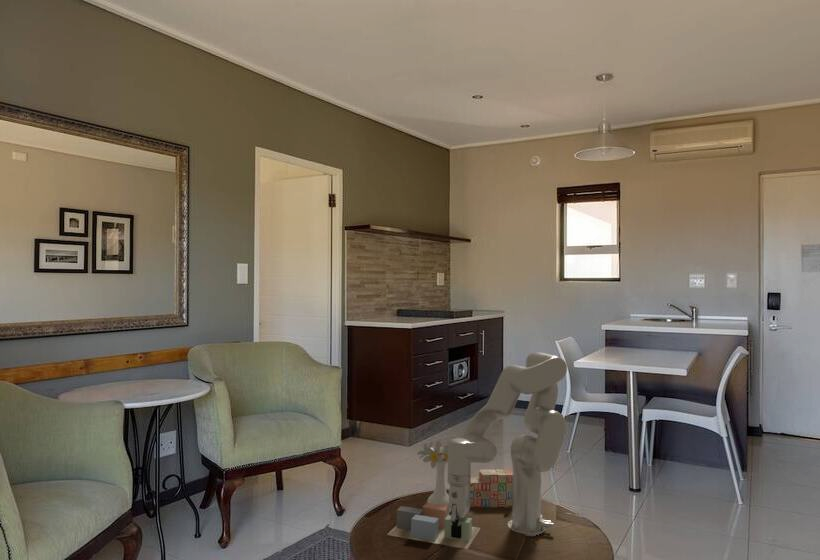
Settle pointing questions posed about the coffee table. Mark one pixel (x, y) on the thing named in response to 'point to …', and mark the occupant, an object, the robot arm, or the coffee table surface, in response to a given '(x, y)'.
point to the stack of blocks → (492, 488)
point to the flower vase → (439, 460)
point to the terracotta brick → (436, 512)
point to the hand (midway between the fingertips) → (458, 533)
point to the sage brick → (465, 529)
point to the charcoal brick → (406, 516)
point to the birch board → (439, 540)
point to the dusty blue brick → (425, 528)
